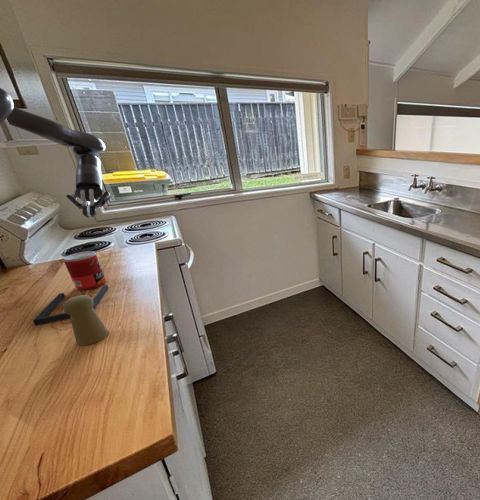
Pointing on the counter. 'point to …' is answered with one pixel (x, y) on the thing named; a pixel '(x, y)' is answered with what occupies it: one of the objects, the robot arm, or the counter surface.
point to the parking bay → (45, 318)
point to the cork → (85, 320)
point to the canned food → (85, 270)
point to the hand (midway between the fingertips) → (89, 216)
